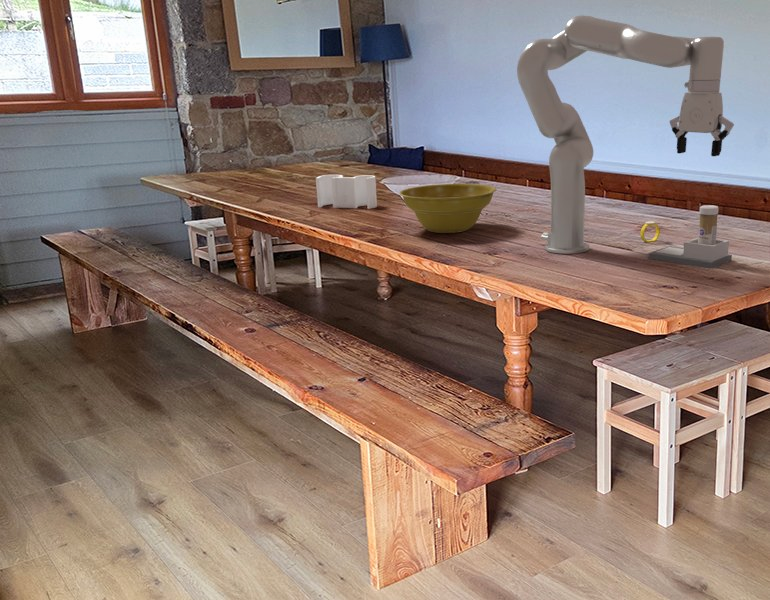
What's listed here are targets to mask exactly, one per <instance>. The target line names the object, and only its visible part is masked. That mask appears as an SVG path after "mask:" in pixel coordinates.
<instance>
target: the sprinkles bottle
mask: <svg viewBox="0 0 770 600" xmlns="http://www.w3.org/2000/svg"><path fill="white" fill-rule="evenodd" d="M718 216H719V206H718V205H713V204H712V205H711V204H707V205H706V204H704V205H701V206H700V207H699V227H698V235H697V238H698V244H705V245H715V244H716V239H717V231H718Z"/></svg>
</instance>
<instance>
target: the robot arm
mask: <svg viewBox="0 0 770 600" xmlns="http://www.w3.org/2000/svg"><path fill="white" fill-rule="evenodd" d="M724 42H725V41H724V39H723V37H720V36H700V37H695V38H693V37H685V36H684V37H683V36H672V35H666V34H663V33H662V34H661V33H657V32H651V31H647V30H643V29H639V28H636V27H635V26H633V25H631V24H627V23H623V22H617V21H612V20H606V19H602V18H597V17H594V16H590V15H576V16H573V17H572V18H570V19H569V20H568V21H567V23H566V25H565V27H564V30H563V31H561V32H559V33H558V34H556V35H554V36H552V37H550V38H540V39H535V40H533V41H531V42H530V43H529V44H528V45H527V46H526V47H525V48H524V49H523V51H522V52H521V54H520V55H519V59H518V61H517V65H516V75H517V79H518V83H519V86H520V88H521V91H522V92H523V95H524V98H525V100H526V102H527V105H528V107H529V109H530V112H531V114H532V116H533V118H534V121H535V123H536V126H537V128H538V129H539V132H540V134H541V135H542V136H544V137H545V138H547V139H553V140H554V142H555V146H553V148H552V149H551V151H550V153H549V154H550V155H549V157H548V158H549V159H548V167H549V168H548V169H549V176H550V232H547V231H544V232H543V233H542V235H541V236H540V239H541V240H544V241H547V243H546V244H545V247H544V249H545V251H547V252H549V253H553V254H554V253H555V254H566V255H567V254H568V255H571V254H573V255H574V254H579V253H581V254H582V253H585V252H588V251H589V250H590V245H589V244H588V243H586V242H585V213H586V212H585V211H586V210H585V209H586V208H585V207H586V205H585V203H586V180H585V170H584V169H585V168H586V167H587V166H588V165H589V164H590V163H591V162H592V160H593V157H594V147H593V144H592V141H591V139H590V137H589V134H588V132H587V130H586V128H585V126H584V125H585V124H584V123H583V121H582V118H581V116H580V114H579V113H578V111H577V109H576V108H575V107H574V106H573V105H571V104H570V103H566V102H562V100H561V98H560V96H559V95H558V92H557V89H556V87H555V84H554V83H553V81H552V80H551V78H550V76H549V73H548V72H549V71H552V70H557V69H559V68H562V67H563V66H565V65H566V64H568V63H570V62H571V61H573V60H575V59H576V58H579V56H581V55H583V54H585V53H587V52H594V53H596V54H597V53H598V54H602V55H606V56H611V57H615V58H620V59H623V60H624V59H625V60H631V61H636V62H639V63H645V64H649V65H654V66H658V67H663V68H668V69H671V68H678V67H679V68H680V67H685V66H689V79H688V81H686V82H684V88H685V89H686V88H687V92H685V93H684V95H683V98H682V102H681V106H680V111H679V115H678V116H677V117H674V118H672V119H671V120H669V125H670V127H671V131H672V132H673V134H674V136H675V138H676V153H677V154H684V153H686V151H687V141H688V139H687V137H686V136H687V134H688V133H696V134H697V133H700V134H711V136H712V138H713V141H712V142H711V152H710V156H711V157H718V156H720V155H721V152H722V148H723V140H725V138H726V137H728V136H729V135H730V133H731V131H732V129H733V127H734V125H735V124H734V122H733V121H730V120H729V119H728V118H725V117H724V116H723V115H724V114H723V113H724V110H723V109H724V107H723V106H724V105H723V103H724V102H723V96H722V92H720V88H721V79H722V66H723V57H724V45H725V44H724ZM723 126H724V129H723V130H722V127H723ZM721 130H722V131H721Z"/></svg>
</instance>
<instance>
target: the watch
mask: <svg viewBox="0 0 770 600" xmlns="http://www.w3.org/2000/svg"><path fill="white" fill-rule="evenodd" d="M649 226H654V227H655V233H654V234H655V235H654V237H653V238H652V239H646V238H645V230H646V229H647V228H648V227H649ZM660 230H661V229H660V227H659V225H658V224H657V223H656V221H652V220H651V221H645V224H643V226H642V227H641V229H640V232H639V233H640V234H639V235H640V238H641V240H642V241H643V242H645V243H650V242H652V243H653V242H656V241H657V240H658V239H659V237H660V234H661V232H660Z"/></svg>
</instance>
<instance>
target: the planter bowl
mask: <svg viewBox="0 0 770 600" xmlns="http://www.w3.org/2000/svg"><path fill="white" fill-rule="evenodd" d="M496 192H497V188H496V187H494V186H490V185H485V184H475V183H474V184H473V183H442V184H430V185H429V184H428V185H422V186H421V185H420V186H419V185H418V186H415V187H409V188H404V189H403V190H400V191H399V192H398V194H399V196H402V199H403V201H404V203H405V205H406V207H407V208H409V209H410V210H411V211H413V213H414V214H415V216H416V218H417V220H418V222H419V223H420V224H421V226H422V227H423V228H424V229H426V230H427V231H428V232H432V233H437V234H438V233H439V234H452V233H453V234H455V233H461V232H467V231H469V230H470V229H471V228H472V227H474V226H475V224H476V223H477V222H478V219H479V217H480V216H481V214H482V211H483V209H485V207H487V206H488V205H489V204H490V203H491V200H492V198H493V196H494V193H496Z"/></svg>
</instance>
